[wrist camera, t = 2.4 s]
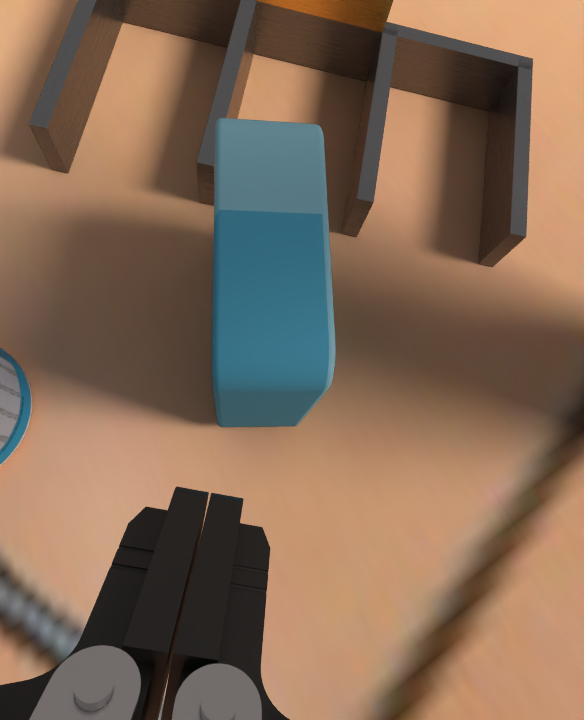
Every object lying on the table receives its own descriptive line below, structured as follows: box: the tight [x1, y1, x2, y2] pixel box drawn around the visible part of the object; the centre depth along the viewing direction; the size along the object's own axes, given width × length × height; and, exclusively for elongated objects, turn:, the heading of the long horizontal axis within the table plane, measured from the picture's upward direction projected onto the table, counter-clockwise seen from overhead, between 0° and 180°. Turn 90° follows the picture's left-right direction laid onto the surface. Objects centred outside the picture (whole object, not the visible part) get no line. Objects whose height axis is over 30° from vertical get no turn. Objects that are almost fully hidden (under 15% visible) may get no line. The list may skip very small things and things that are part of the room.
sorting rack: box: [29, 0, 533, 267], centre depth 31 cm, size 30×14×9 cm, turn 80°
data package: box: [212, 118, 335, 427], centre depth 25 cm, size 12×4×12 cm, turn 2°
